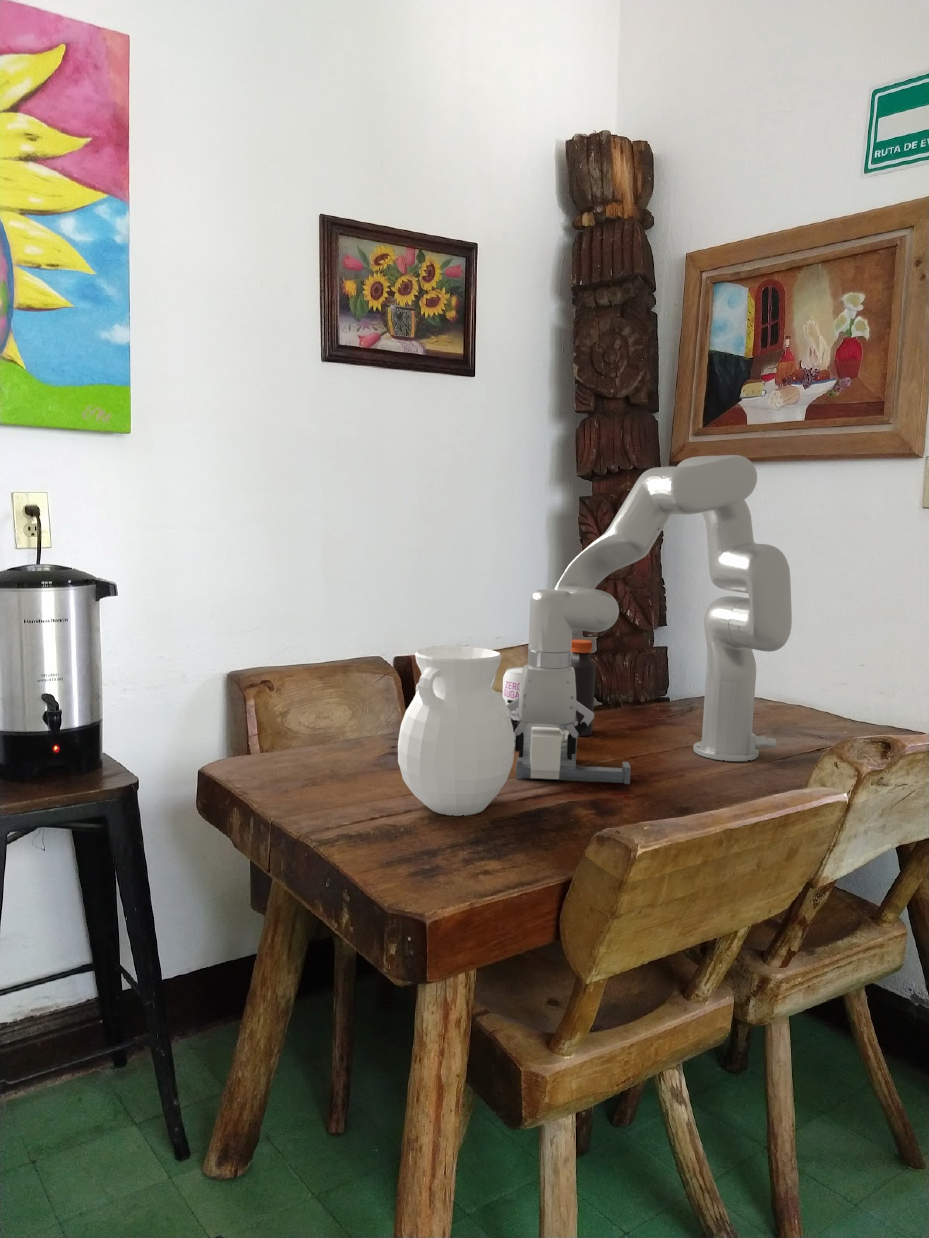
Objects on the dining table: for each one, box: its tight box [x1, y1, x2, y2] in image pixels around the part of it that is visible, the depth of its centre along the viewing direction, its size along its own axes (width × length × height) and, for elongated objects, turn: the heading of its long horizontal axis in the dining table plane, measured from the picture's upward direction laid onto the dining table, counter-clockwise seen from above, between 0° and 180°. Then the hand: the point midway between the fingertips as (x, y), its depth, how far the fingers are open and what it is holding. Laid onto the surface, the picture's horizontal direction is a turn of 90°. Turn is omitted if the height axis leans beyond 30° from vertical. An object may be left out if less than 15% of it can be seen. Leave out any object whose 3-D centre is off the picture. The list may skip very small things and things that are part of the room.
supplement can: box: [502, 666, 523, 743], centre depth 188 cm, size 8×8×15 cm
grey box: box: [522, 717, 578, 766], centre depth 174 cm, size 10×7×9 cm
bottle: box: [570, 639, 596, 737], centre depth 197 cm, size 7×7×20 cm
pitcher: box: [397, 645, 515, 817], centre depth 146 cm, size 19×18×25 cm
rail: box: [515, 756, 632, 785], centre depth 164 cm, size 20×4×3 cm, turn 87°
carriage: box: [530, 727, 561, 780], centre depth 164 cm, size 5×7×8 cm
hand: (544, 756), depth 164 cm, fingers open, 8 cm apart
